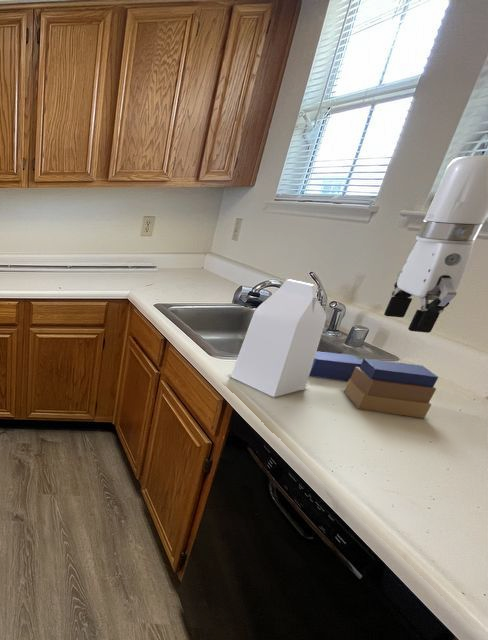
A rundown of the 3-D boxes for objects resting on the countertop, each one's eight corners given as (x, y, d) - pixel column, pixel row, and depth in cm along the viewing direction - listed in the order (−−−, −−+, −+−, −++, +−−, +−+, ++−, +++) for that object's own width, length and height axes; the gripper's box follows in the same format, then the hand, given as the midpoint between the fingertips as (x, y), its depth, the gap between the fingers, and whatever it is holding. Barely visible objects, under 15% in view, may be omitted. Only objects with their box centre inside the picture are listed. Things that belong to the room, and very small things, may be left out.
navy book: (417, 375, 96) (422, 365, 94) (433, 387, 90) (438, 377, 89) (359, 367, 99) (363, 358, 98) (371, 379, 94) (375, 369, 92)
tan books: (403, 399, 100) (417, 373, 97) (424, 418, 92) (439, 390, 89) (343, 390, 103) (354, 365, 100) (357, 408, 96) (370, 381, 93)
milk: (230, 376, 110) (259, 278, 99) (260, 369, 114) (291, 275, 103) (273, 397, 100) (311, 290, 89) (305, 388, 104) (344, 286, 93)
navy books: (349, 372, 113) (356, 355, 111) (359, 383, 107) (367, 365, 105) (300, 365, 117) (306, 349, 115) (308, 376, 111) (314, 358, 109)
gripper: (509, 240, 66) (456, 340, 74) (445, 228, 81) (406, 313, 88) (449, 238, 69) (403, 335, 76) (398, 227, 83) (363, 309, 91)
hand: (405, 323), depth 82 cm, fingers open, 9 cm apart
